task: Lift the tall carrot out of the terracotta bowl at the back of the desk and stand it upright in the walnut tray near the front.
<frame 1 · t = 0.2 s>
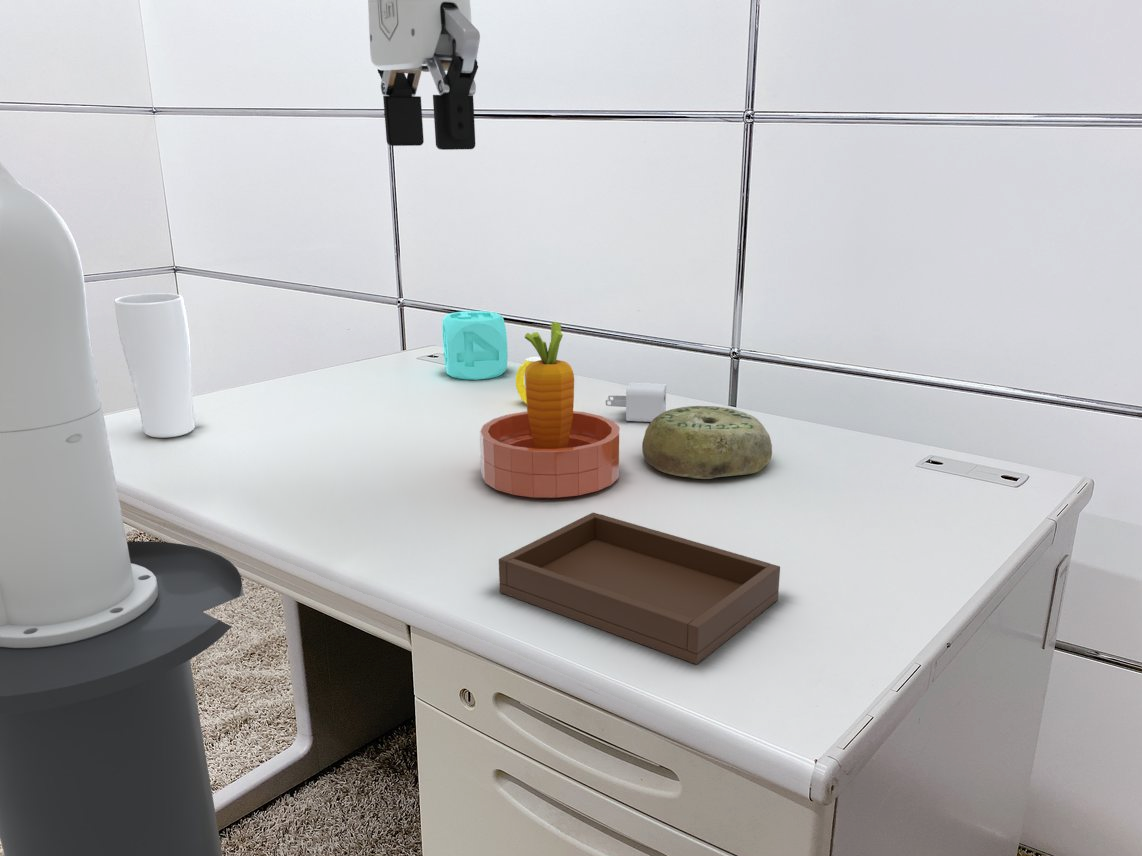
hand: (429, 147, 81), 31 cm above the table, tool pointing down, fingers open, 9 cm apart
bowl: (551, 476, 98), on the table
weight: (706, 463, 103), on the table
decorative dice: (475, 374, 137), on the table
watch: (538, 407, 122), on the table
tray: (638, 596, 74), on the table
usb wall charger: (635, 419, 117), on the table
drinking glass: (170, 433, 110), on the table
carrot: (551, 474, 98), resting in bowl
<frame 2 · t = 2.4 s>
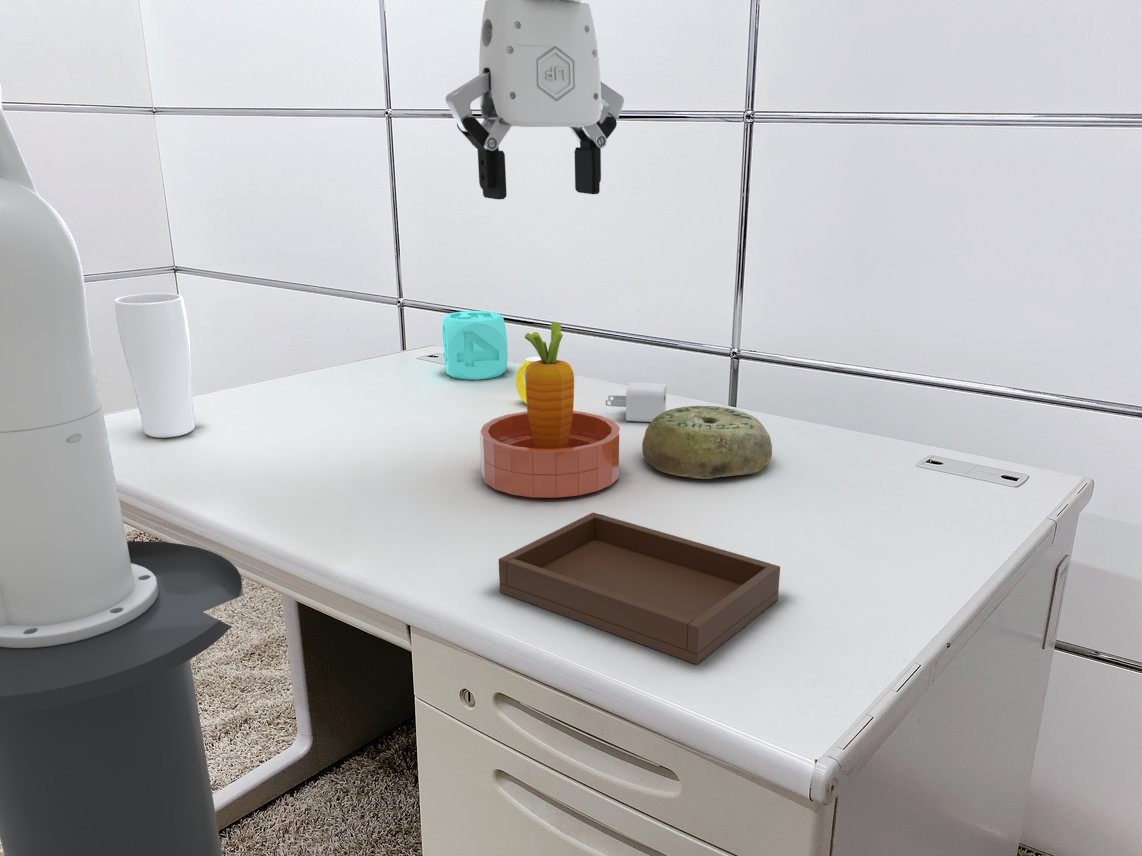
hand: (542, 195, 88), 27 cm above the table, tool pointing down, fingers open, 9 cm apart
nothing on the table moved.
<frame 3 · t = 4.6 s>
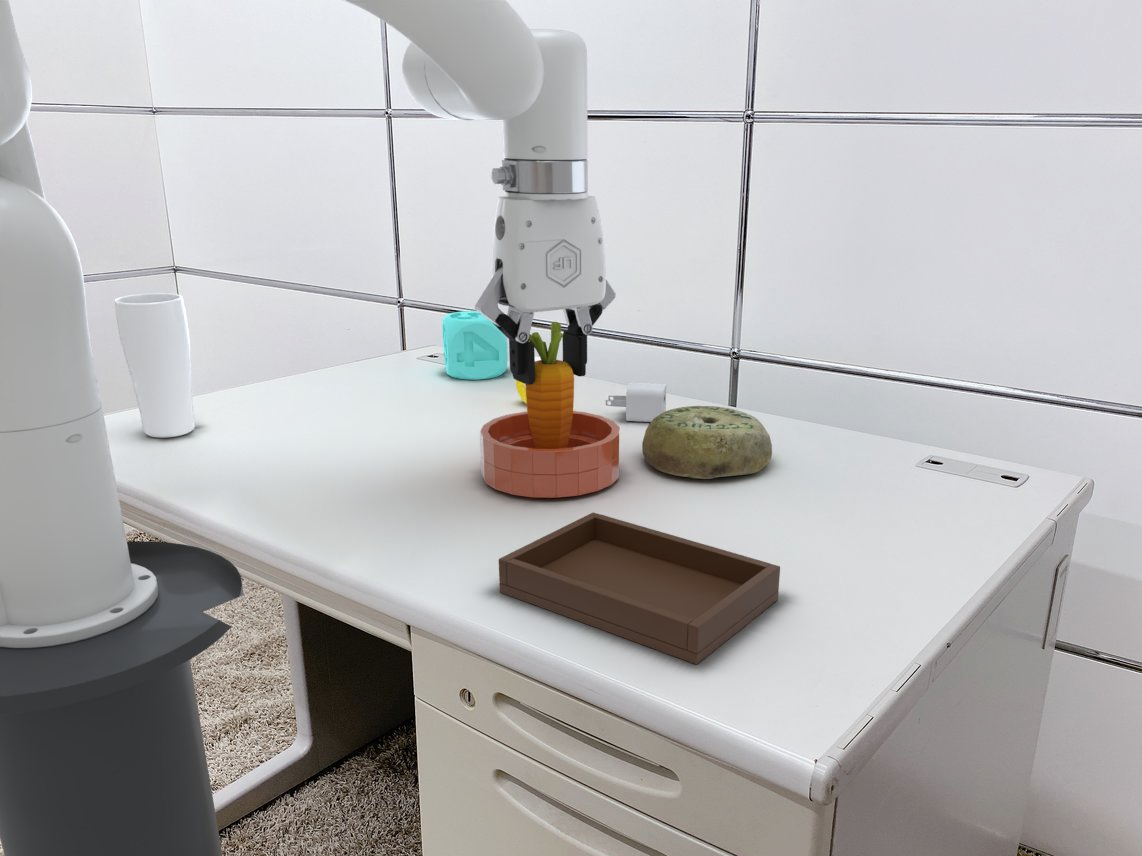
hand: (549, 375, 94), 10 cm above the table, tool pointing down, fingers closed on carrot, 5 cm apart
carrot: (551, 474, 98), resting in bowl, touching gripper
everything else where it was.
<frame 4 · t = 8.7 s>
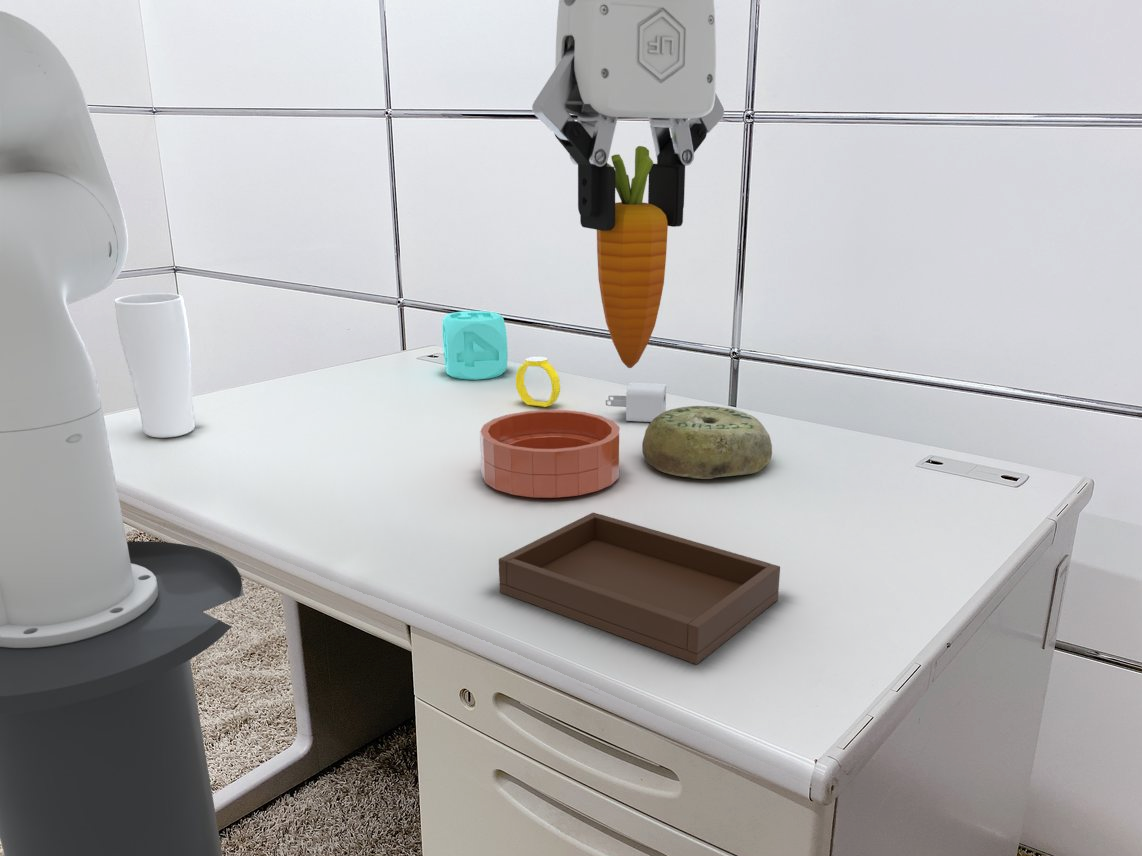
hand: (632, 223, 66), 27 cm above the table, tool pointing down, fingers closed on carrot, 5 cm apart
carrot: (629, 370, 70), point 17 cm above the table, touching gripper
everything else where it was.
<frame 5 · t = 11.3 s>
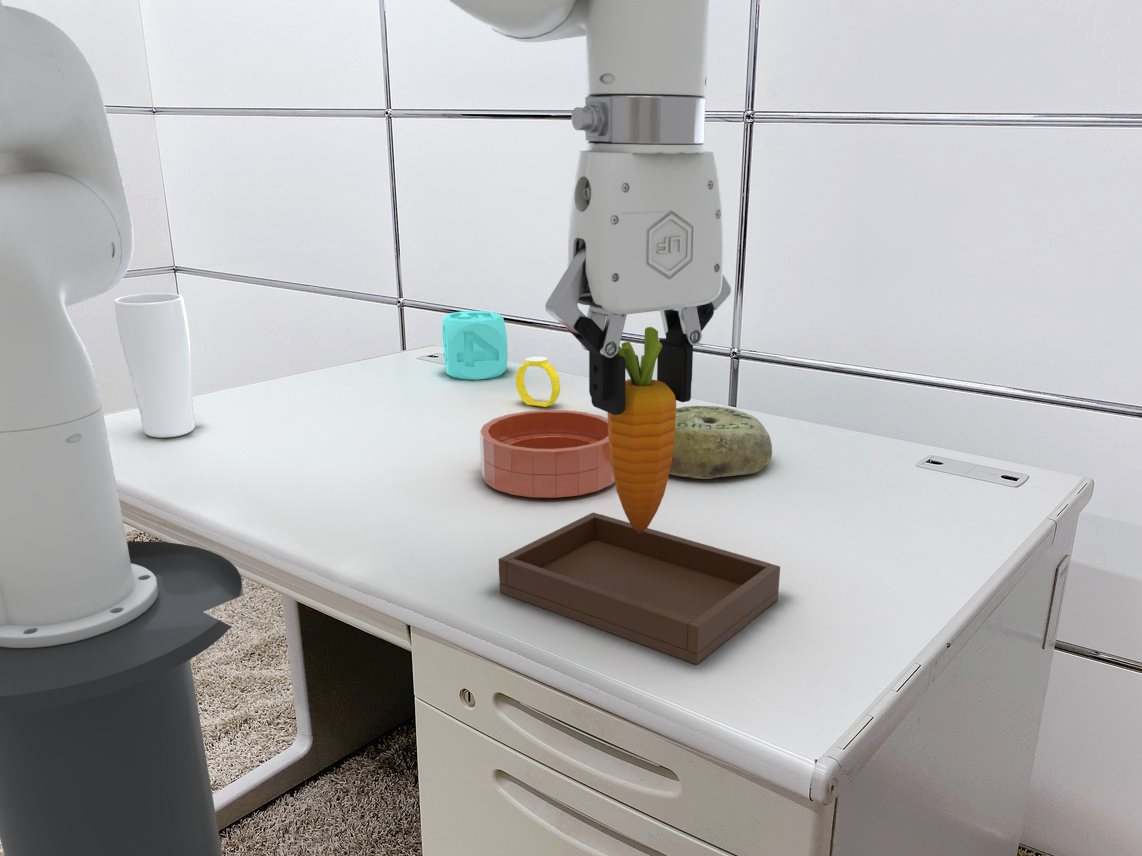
hand: (641, 401, 68), 15 cm above the table, tool pointing down, fingers closed on carrot, 5 cm apart
carrot: (639, 534, 72), point 5 cm above the table, touching gripper
everything else where it was.
when the fingers open (11 cm above the table, at t = 12.8 s): carrot stays where it is, resting on tray.
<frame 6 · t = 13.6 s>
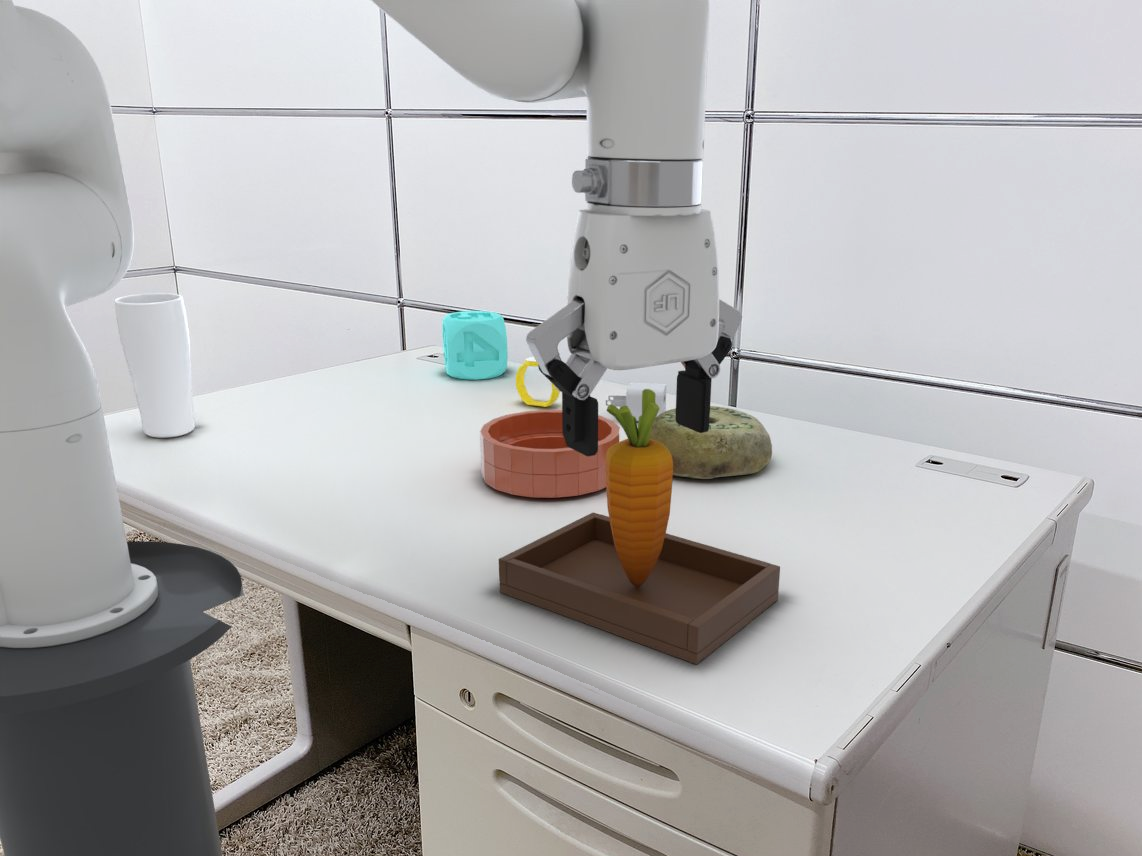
hand: (638, 438, 69), 12 cm above the table, tool pointing down, fingers open, 9 cm apart
carrot: (637, 588, 73), point 1 cm above the table, touching tray
everything else where it was.
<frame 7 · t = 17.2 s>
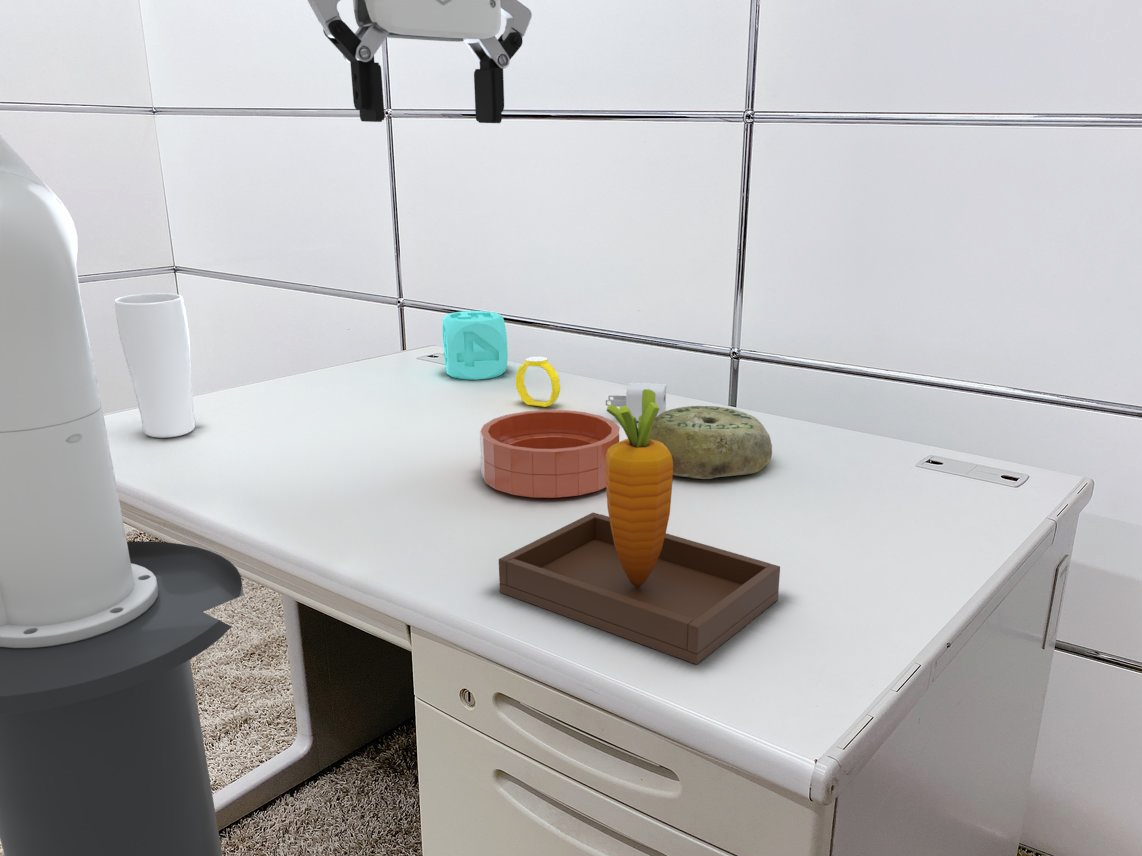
hand: (432, 122, 75), 33 cm above the table, tool pointing down, fingers open, 9 cm apart
nothing on the table moved.
at the end: carrot inside the target area in the tray (0.1 cm from its centre), point 0.6 cm above the tray's base; carrot tilted 0°; the gripper is holding nothing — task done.
